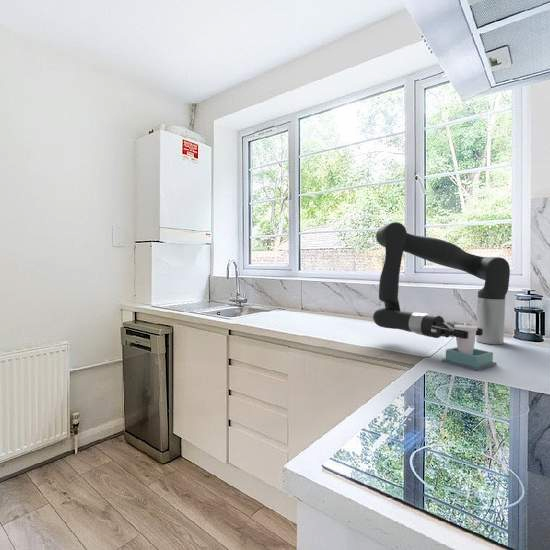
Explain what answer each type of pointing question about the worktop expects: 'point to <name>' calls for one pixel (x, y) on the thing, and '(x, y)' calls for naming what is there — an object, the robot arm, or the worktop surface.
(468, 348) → the smoothie
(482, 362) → the tray
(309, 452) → the worktop surface
